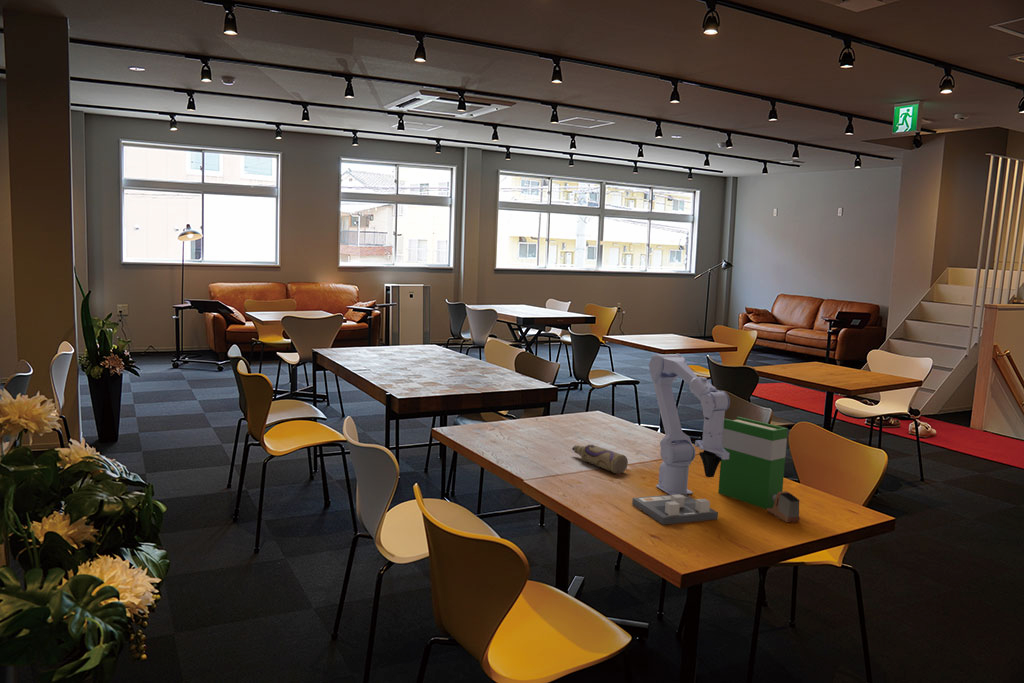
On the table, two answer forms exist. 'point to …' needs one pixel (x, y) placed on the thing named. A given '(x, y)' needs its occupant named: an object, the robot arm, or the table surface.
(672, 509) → the tab
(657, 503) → the switch board
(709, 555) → the table surface
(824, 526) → the table surface
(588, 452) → the decorative bottle
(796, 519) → the electronic device
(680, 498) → the tab middle
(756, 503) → the hardback book
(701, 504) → the tab
